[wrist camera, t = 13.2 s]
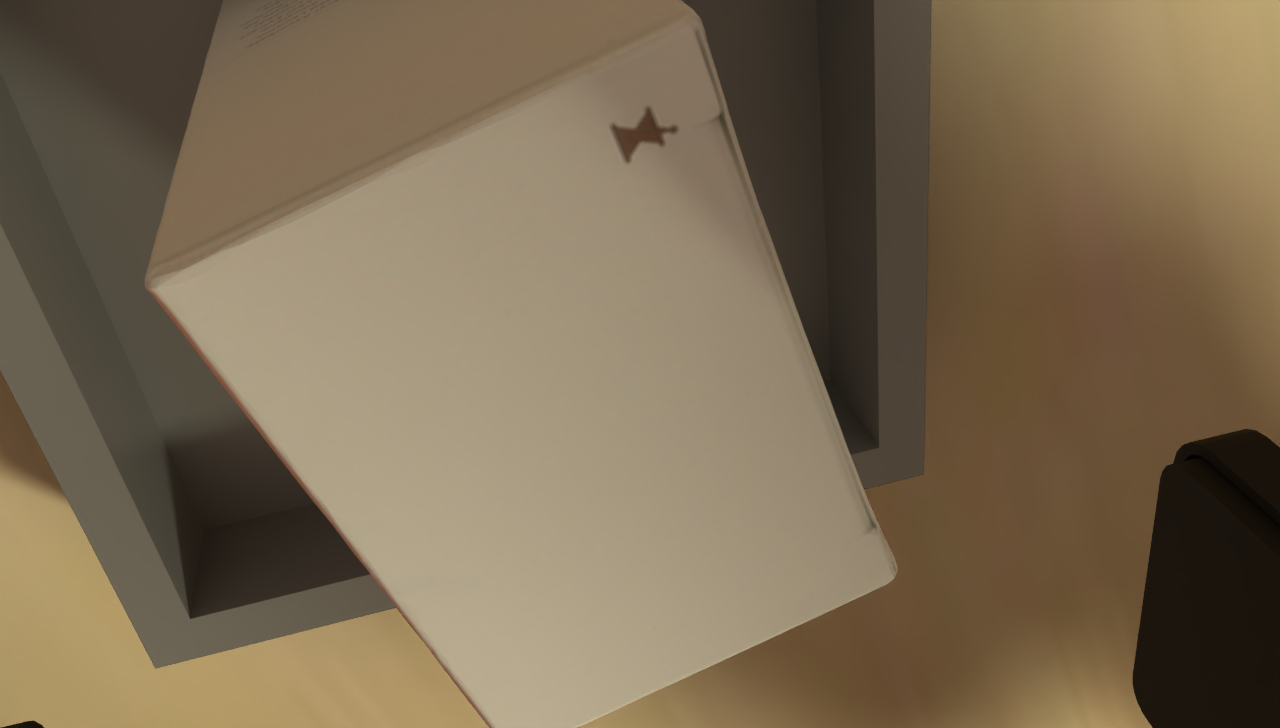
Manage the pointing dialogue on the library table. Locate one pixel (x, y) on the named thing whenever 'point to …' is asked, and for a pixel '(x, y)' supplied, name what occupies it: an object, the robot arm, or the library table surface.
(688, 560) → the small box
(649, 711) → the library table surface
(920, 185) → the tray
